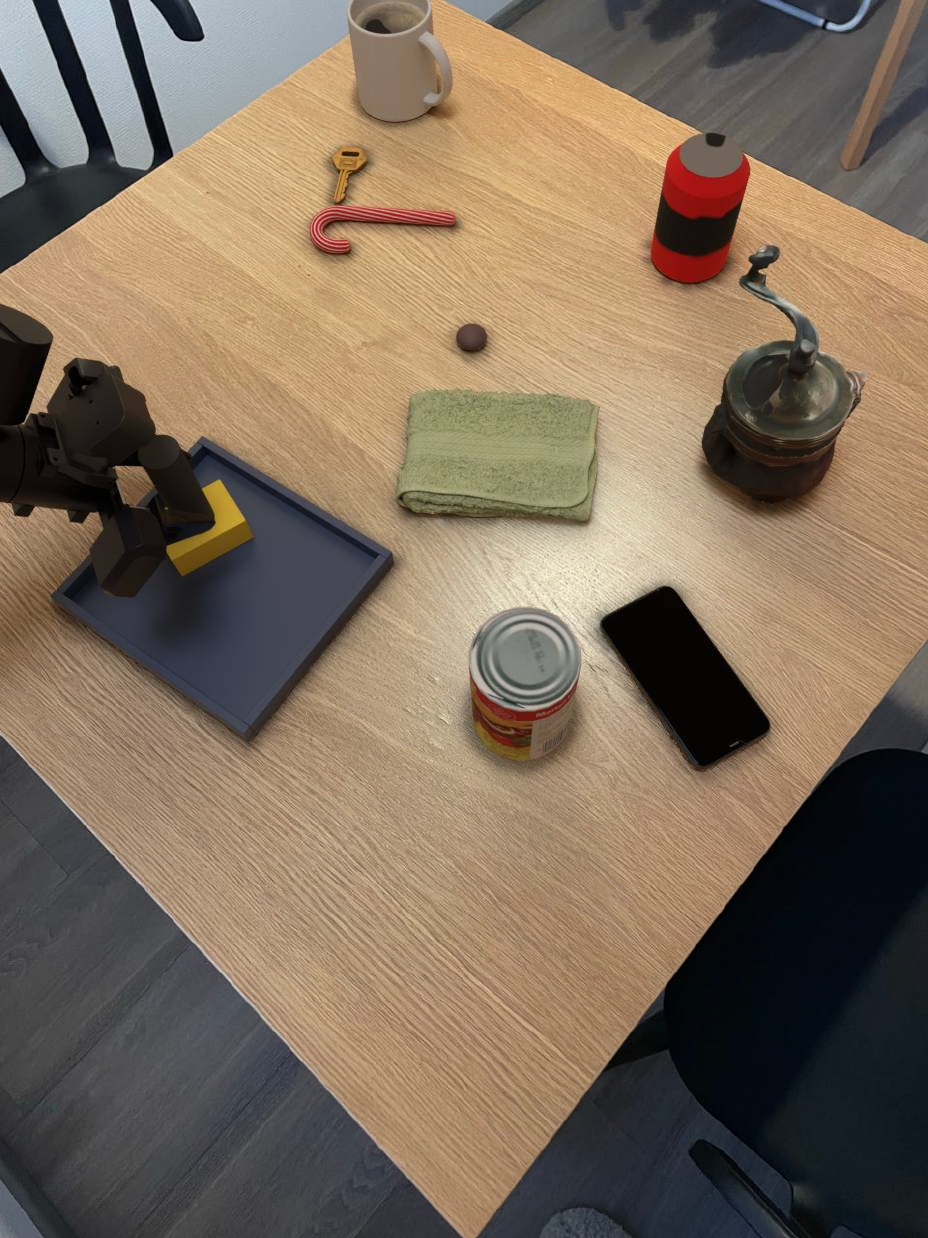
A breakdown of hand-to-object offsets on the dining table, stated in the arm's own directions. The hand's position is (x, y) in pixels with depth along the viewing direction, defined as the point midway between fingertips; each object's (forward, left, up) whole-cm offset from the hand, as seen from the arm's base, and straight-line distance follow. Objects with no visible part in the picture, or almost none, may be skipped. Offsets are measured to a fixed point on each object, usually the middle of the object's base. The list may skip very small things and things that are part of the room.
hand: (201, 491), depth 80 cm
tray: (-4, -4, -7) cm, 9 cm away
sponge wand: (-1, +1, -6) cm, 6 cm away
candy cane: (+37, +10, -7) cm, 39 cm away
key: (+41, +18, -7) cm, 45 cm away
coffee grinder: (+33, -34, -7) cm, 48 cm away
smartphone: (+11, -40, -7) cm, 42 cm away
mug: (+54, +20, -7) cm, 58 cm away
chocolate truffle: (+30, -6, -7) cm, 31 cm away
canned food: (+1, -31, -7) cm, 32 cm away
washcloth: (+20, -16, -7) cm, 27 cm away
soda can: (+51, -18, -7) cm, 54 cm away
